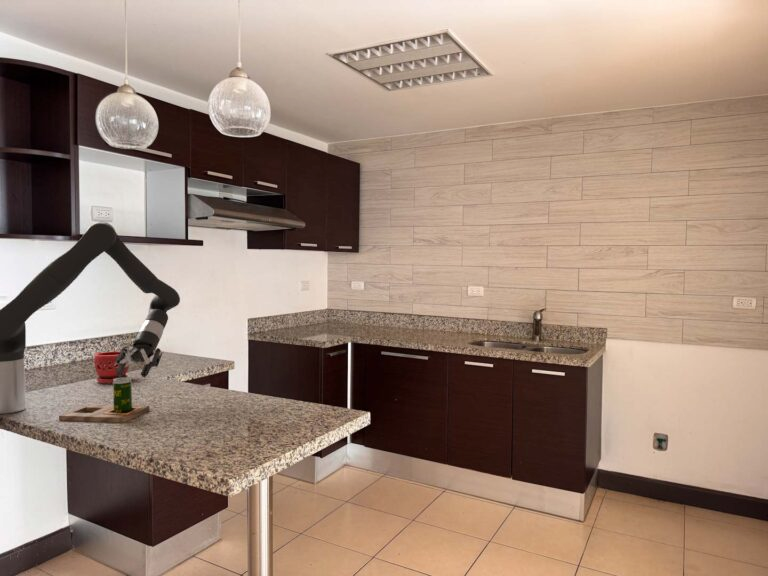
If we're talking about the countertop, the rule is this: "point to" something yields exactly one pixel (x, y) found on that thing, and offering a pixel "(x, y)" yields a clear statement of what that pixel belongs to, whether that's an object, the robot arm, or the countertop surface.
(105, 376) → the plant pot
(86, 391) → the countertop surface
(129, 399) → the beer can
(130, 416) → the socket board
